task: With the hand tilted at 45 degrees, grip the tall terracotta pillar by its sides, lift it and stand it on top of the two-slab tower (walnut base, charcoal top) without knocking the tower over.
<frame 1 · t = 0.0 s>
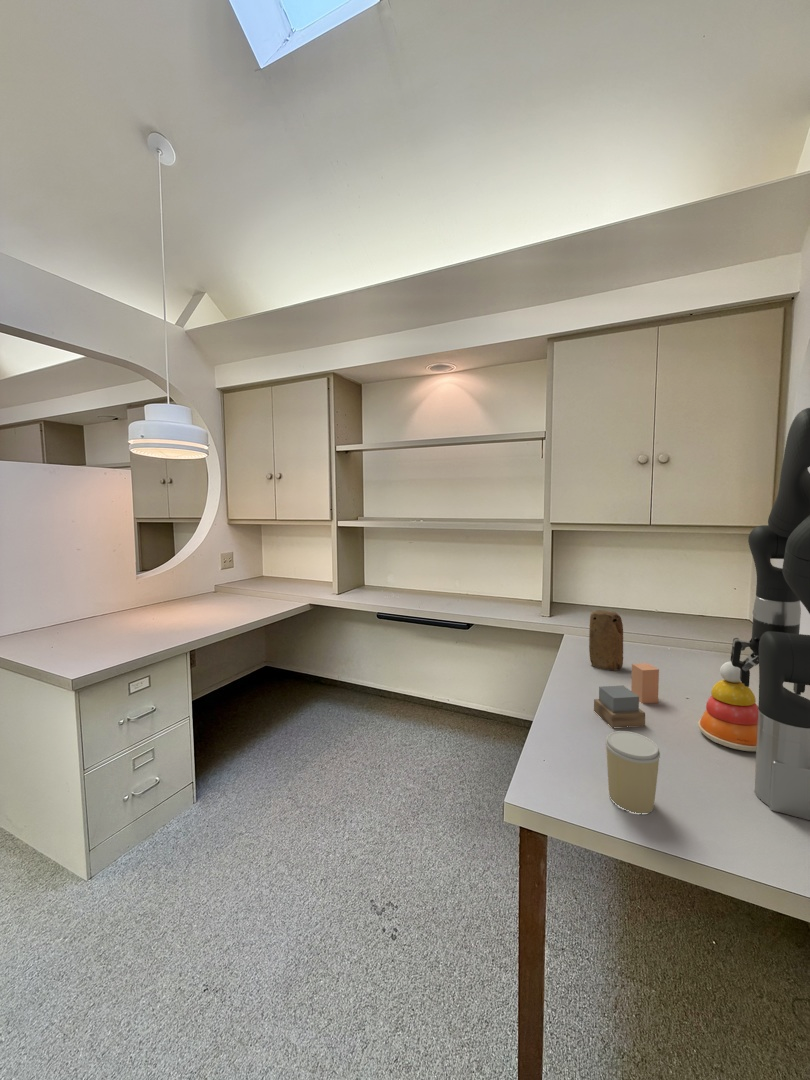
hand: (771, 689, 91), 17 cm above the table, tool pointing down, fingers open, 8 cm apart
stacking toy: (732, 739, 102), on the table
tower base: (618, 719, 113), on the table, touching tower top
tower top: (618, 705, 113), point 4 cm above the table, touching tower base
coffee cup: (630, 801, 82), on the table
block: (606, 667, 149), on the table
pillar: (644, 699, 124), on the table
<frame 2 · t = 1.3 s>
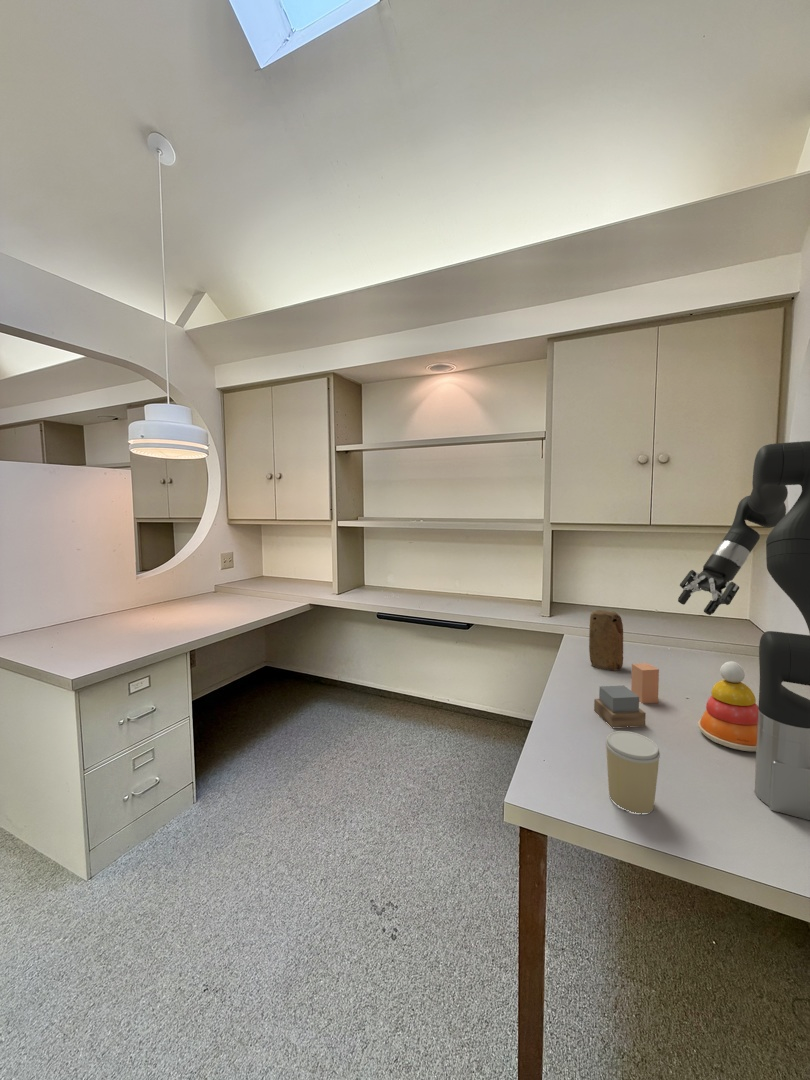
hand: (693, 608, 118), 28 cm above the table, tool tilted 35°, fingers open, 8 cm apart
tower base: (618, 719, 113), on the table
tower top: (618, 705, 113), point 4 cm above the table
everything else where it was.
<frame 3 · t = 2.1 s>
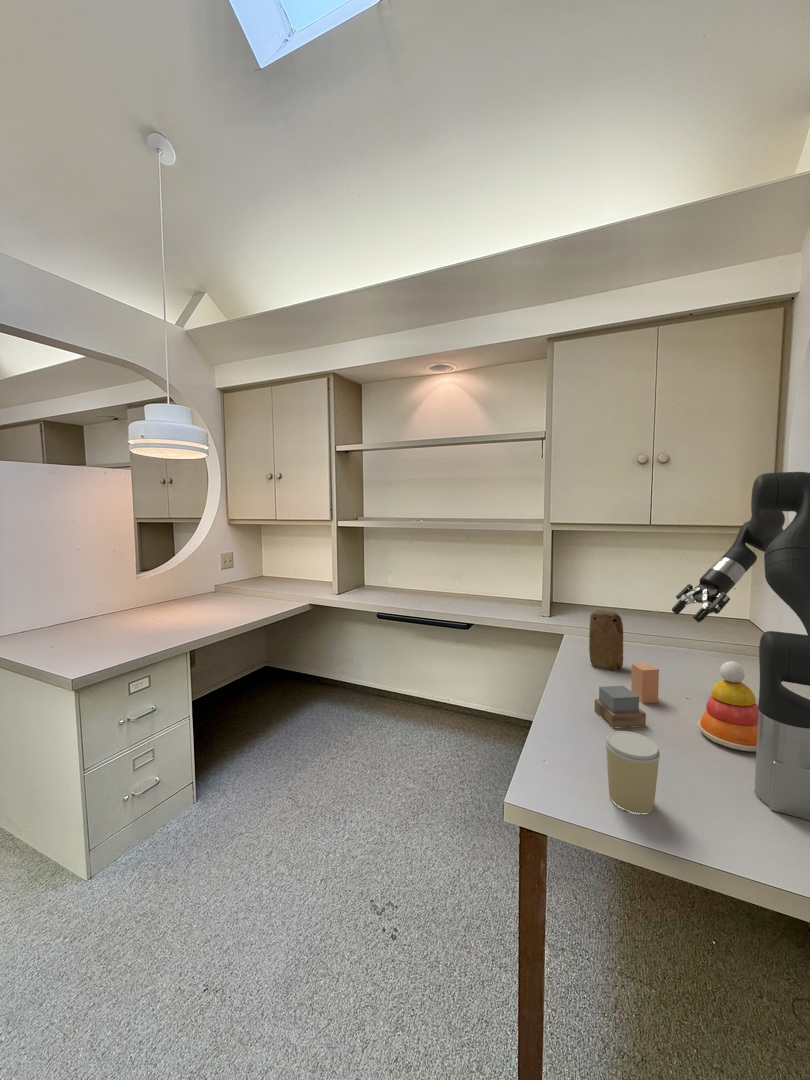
hand: (684, 616, 123), 25 cm above the table, tool tilted 45°, fingers open, 8 cm apart
tower base: (619, 720, 113), on the table, touching tower top
tower top: (618, 705, 113), point 4 cm above the table, touching tower base
everything else where it was.
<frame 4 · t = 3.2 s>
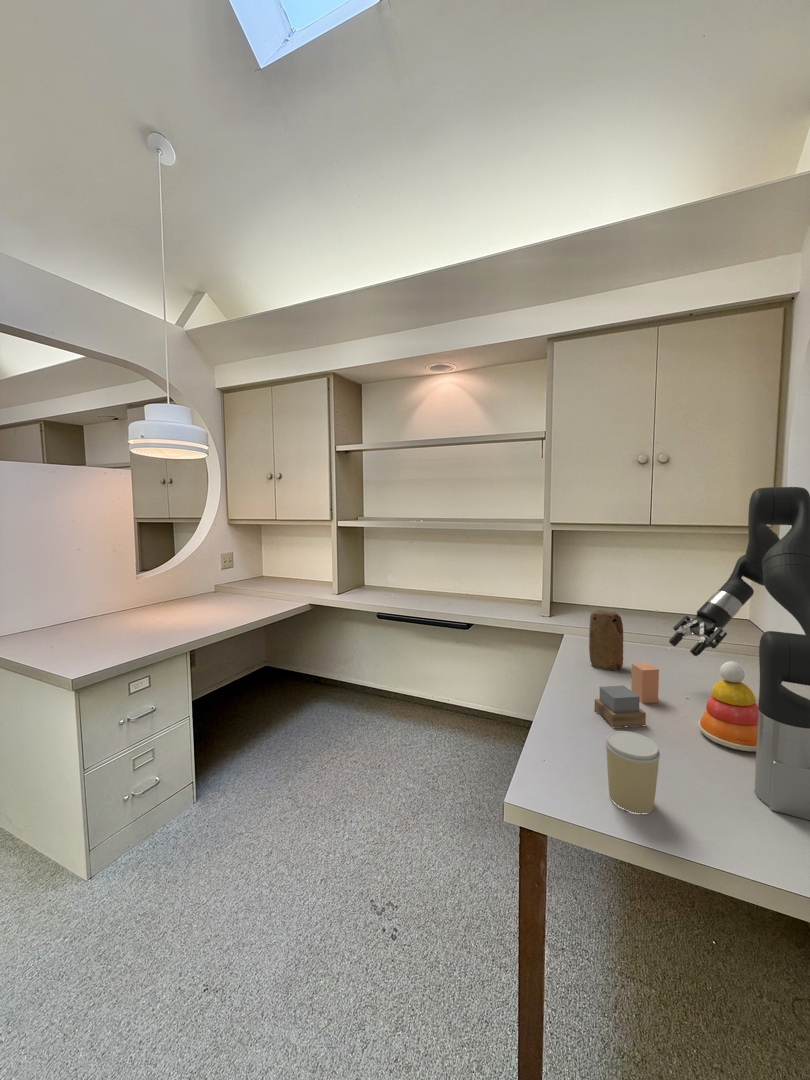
hand: (681, 649, 124), 15 cm above the table, tool tilted 45°, fingers open, 8 cm apart
nothing on the table moved.
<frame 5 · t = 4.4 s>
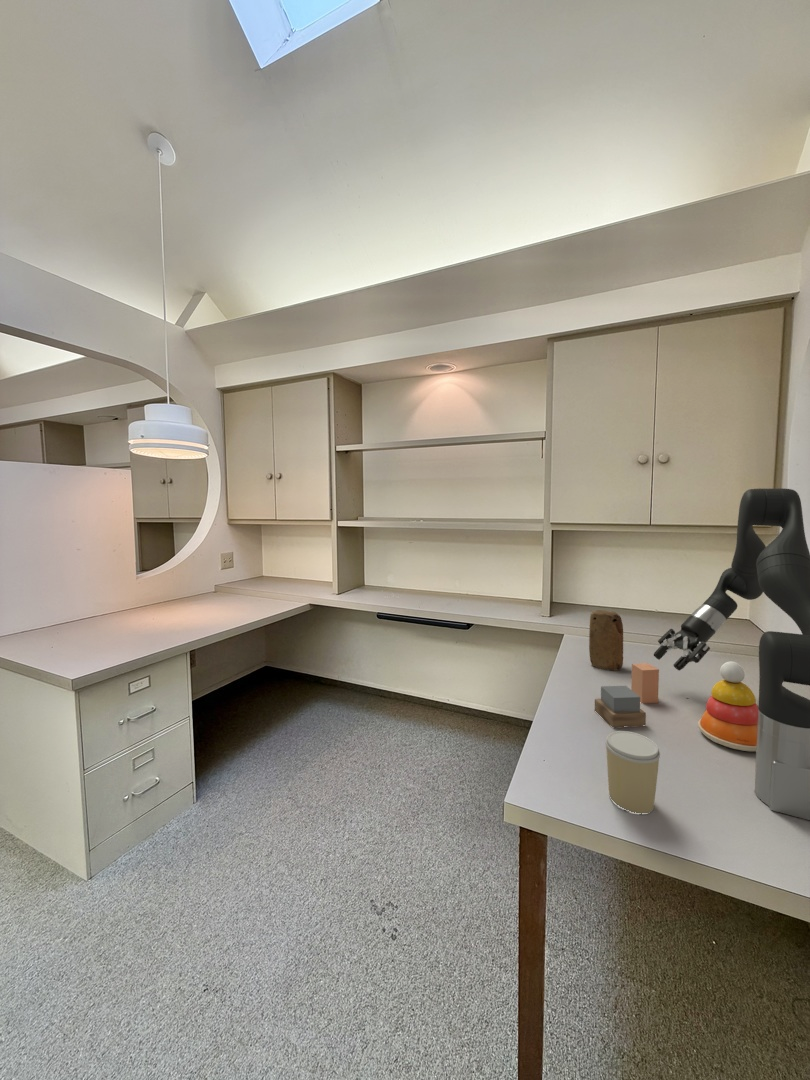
hand: (665, 662, 123), 11 cm above the table, tool tilted 45°, fingers open, 8 cm apart
nothing on the table moved.
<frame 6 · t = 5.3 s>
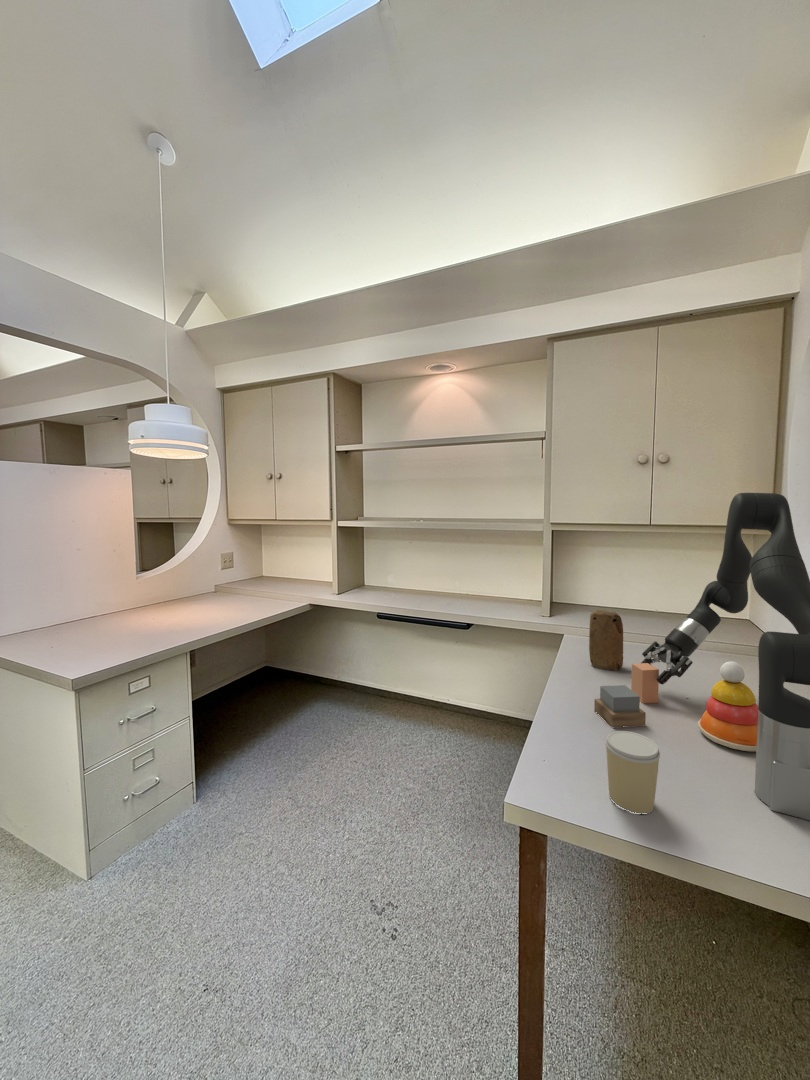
hand: (649, 676, 123), 7 cm above the table, tool tilted 45°, fingers open, 8 cm apart
nothing on the table moved.
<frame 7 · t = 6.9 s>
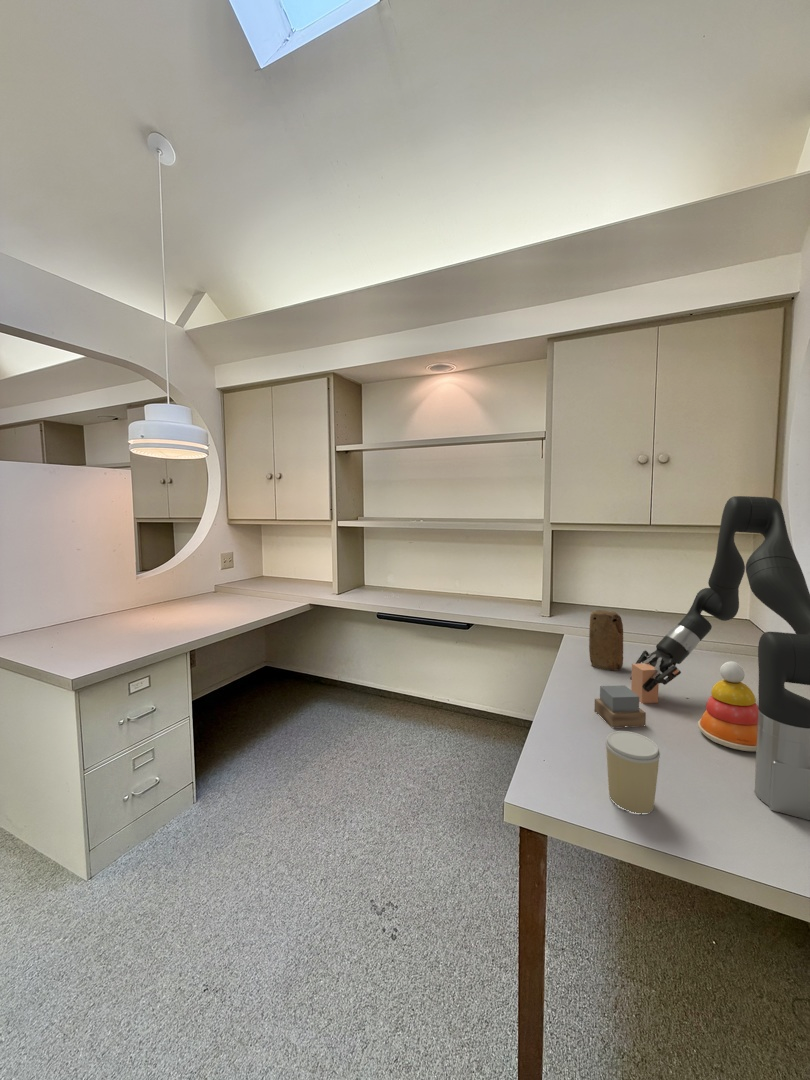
hand: (638, 685, 123), 4 cm above the table, tool tilted 45°, fingers closed on pillar, 5 cm apart
pillar: (644, 699, 124), on the table, touching gripper
everything else where it was.
when the fingers open (14 cm above the table, at t = 12.7 s): pillar drops 2 cm, resting on tower top.
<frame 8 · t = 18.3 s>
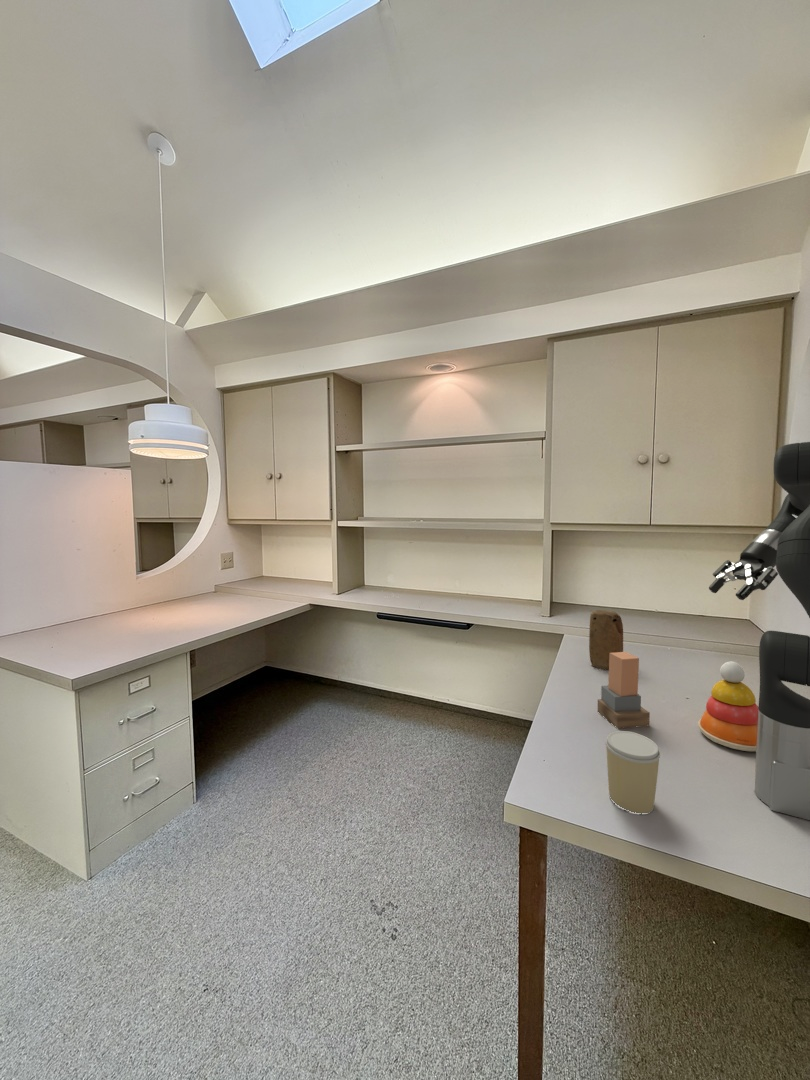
hand: (724, 594, 111), 34 cm above the table, tool tilted 45°, fingers open, 8 cm apart
tower top: (620, 704, 113), point 4 cm above the table, touching pillar, tower base
pillar: (622, 691, 112), point 8 cm above the table, touching tower top
at the end: pillar inside the target area (0.7 cm from its centre), point 7.6 cm above the table; pillar tilted 0°; tower top moved 0.7 cm from its start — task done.
